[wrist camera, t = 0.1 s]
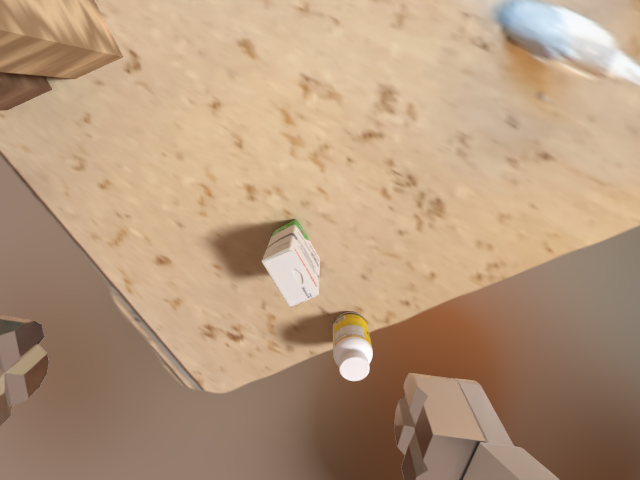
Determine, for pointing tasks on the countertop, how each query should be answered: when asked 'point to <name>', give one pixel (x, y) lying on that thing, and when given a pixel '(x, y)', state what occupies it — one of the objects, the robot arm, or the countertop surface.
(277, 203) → the countertop surface
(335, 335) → the pill bottle
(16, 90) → the walnut post
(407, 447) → the robot arm
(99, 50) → the oak post
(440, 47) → the countertop surface
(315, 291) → the ink box
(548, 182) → the countertop surface
